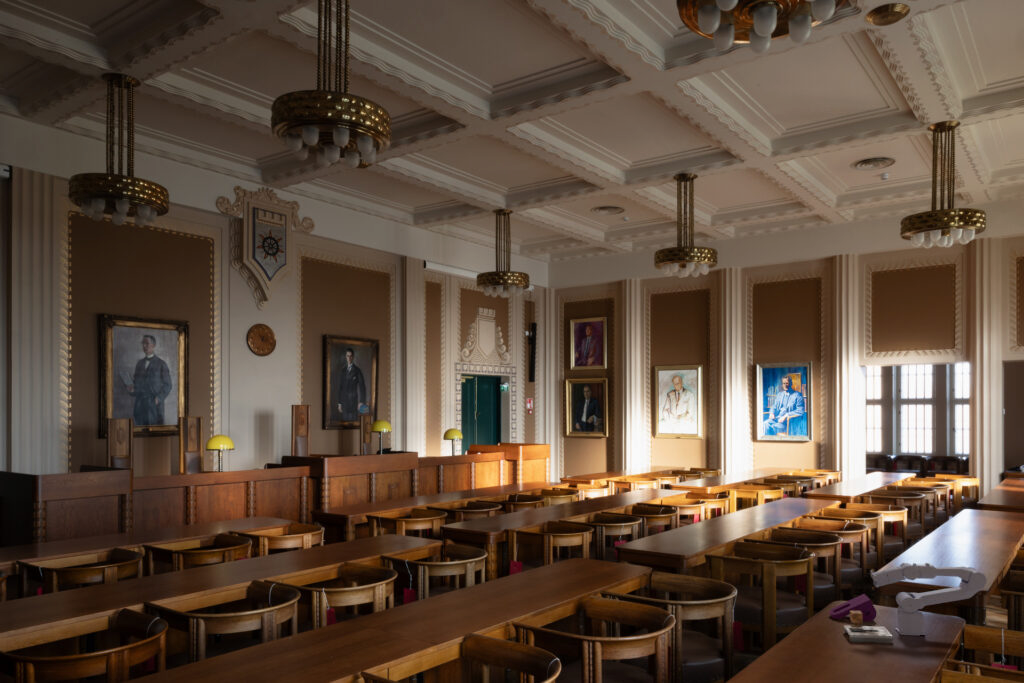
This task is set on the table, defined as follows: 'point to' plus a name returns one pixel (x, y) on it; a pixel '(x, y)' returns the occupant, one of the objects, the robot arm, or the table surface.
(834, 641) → the table surface
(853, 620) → the keyhole peg
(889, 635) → the keyhole plate
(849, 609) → the mounting bracket
